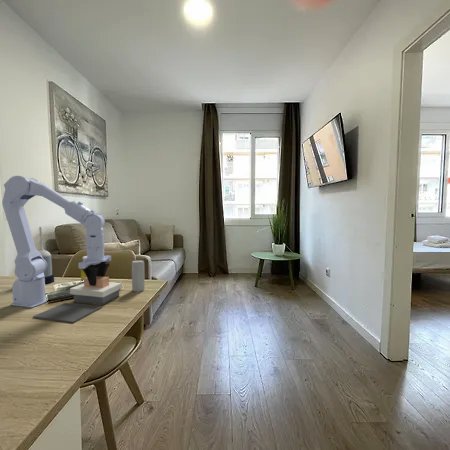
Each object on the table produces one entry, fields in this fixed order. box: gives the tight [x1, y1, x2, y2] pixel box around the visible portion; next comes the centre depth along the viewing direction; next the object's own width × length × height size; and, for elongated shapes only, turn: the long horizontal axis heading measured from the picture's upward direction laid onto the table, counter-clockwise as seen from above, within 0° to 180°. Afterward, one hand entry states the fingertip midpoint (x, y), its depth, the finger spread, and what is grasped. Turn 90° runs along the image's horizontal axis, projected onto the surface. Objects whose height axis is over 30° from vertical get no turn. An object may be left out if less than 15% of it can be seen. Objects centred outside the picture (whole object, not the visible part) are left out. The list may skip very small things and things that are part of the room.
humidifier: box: [38, 226, 55, 286], centre depth 119 cm, size 8×8×25 cm
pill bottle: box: [80, 255, 87, 282], centre depth 121 cm, size 6×6×12 cm
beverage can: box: [131, 259, 146, 293], centre depth 109 cm, size 5×5×12 cm
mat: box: [32, 302, 103, 324], centre depth 87 cm, size 15×12×1 cm
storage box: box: [73, 289, 120, 306], centre depth 99 cm, size 12×9×4 cm
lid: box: [69, 276, 123, 297], centre depth 99 cm, size 14×11×5 cm
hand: (96, 283), depth 99 cm, fingers closed on lid, 3 cm apart
